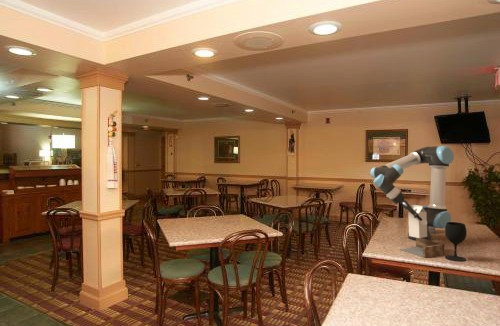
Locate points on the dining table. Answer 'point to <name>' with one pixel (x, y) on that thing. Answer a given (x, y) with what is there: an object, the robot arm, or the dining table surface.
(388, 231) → the dining table surface
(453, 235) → the wine glass
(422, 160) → the robot arm
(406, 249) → the mat
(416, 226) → the milk carton
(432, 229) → the can
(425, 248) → the corner walls
